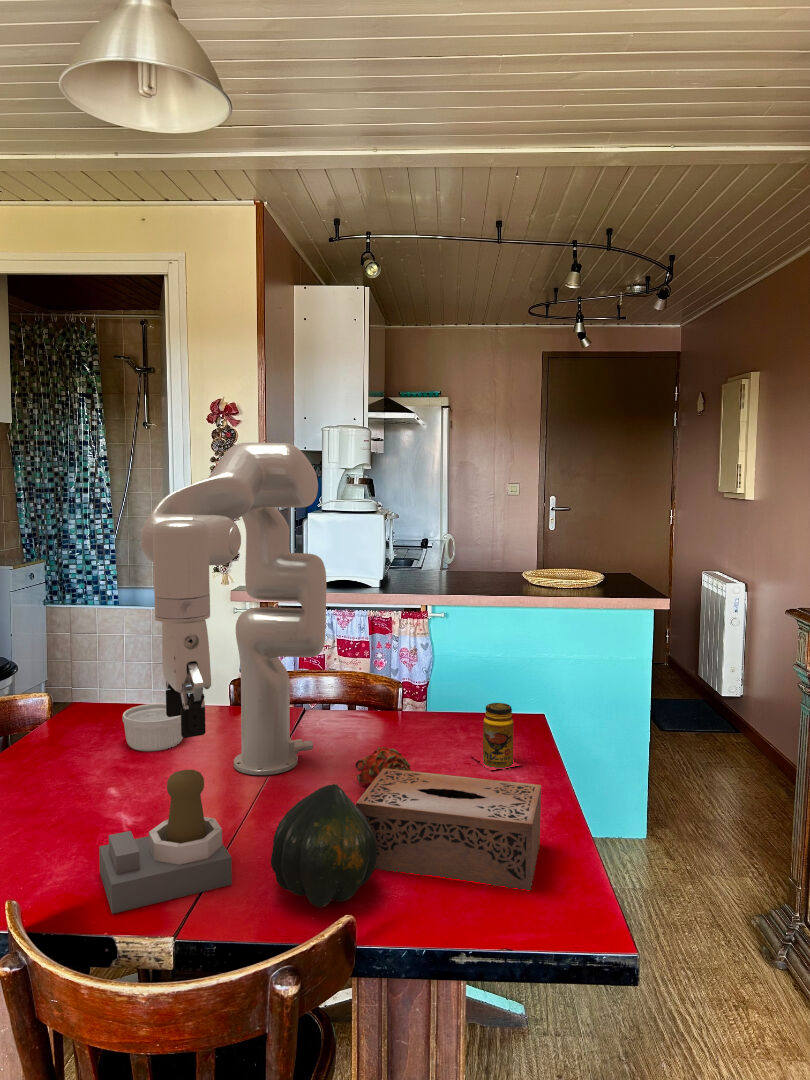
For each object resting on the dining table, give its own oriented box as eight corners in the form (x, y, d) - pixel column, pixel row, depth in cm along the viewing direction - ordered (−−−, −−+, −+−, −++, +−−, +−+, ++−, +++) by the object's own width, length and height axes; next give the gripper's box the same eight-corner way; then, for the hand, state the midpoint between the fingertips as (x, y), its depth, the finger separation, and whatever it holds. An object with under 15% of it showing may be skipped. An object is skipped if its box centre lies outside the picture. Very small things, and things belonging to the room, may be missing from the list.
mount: (209, 848, 120) (209, 808, 120) (231, 884, 110) (231, 840, 109) (99, 872, 113) (98, 829, 112) (112, 913, 102) (111, 866, 102)
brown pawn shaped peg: (196, 858, 109) (195, 782, 108) (156, 854, 110) (155, 778, 109) (215, 839, 115) (214, 766, 114) (177, 835, 116) (176, 763, 115)
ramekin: (200, 740, 170) (200, 709, 169) (151, 758, 159) (150, 725, 158) (159, 729, 177) (158, 699, 176) (109, 746, 166) (109, 714, 165)
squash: (265, 892, 98) (340, 792, 101) (241, 844, 112) (307, 758, 115) (346, 945, 103) (415, 848, 106) (313, 894, 116) (375, 809, 120)
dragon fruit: (411, 808, 139) (358, 802, 146) (428, 769, 145) (377, 764, 152) (390, 779, 135) (337, 774, 142) (409, 739, 141) (357, 736, 148)
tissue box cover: (355, 868, 115) (355, 803, 115) (382, 826, 129) (383, 767, 129) (530, 893, 109) (532, 824, 108) (539, 846, 123) (541, 784, 122)
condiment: (490, 772, 153) (491, 712, 152) (470, 757, 161) (471, 700, 160) (522, 767, 156) (524, 708, 155) (501, 753, 164) (502, 697, 163)
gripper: (225, 616, 104) (227, 740, 106) (194, 595, 119) (196, 704, 121) (168, 621, 100) (171, 749, 102) (143, 599, 116) (146, 711, 117)
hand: (185, 725), depth 111 cm, fingers open, 9 cm apart
